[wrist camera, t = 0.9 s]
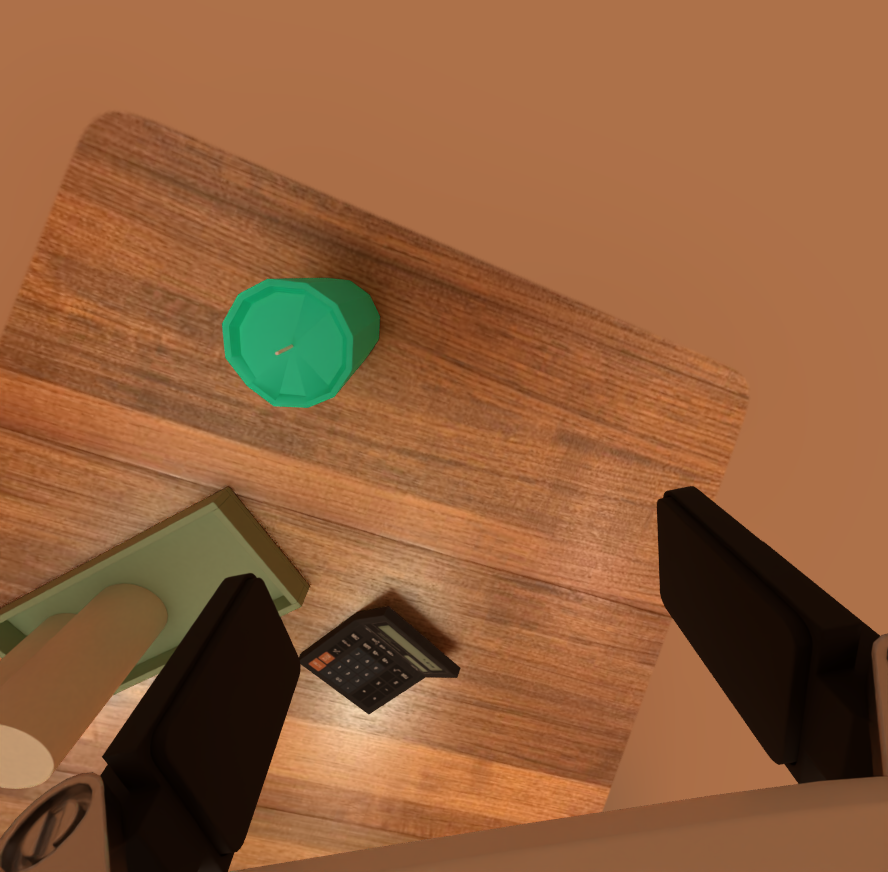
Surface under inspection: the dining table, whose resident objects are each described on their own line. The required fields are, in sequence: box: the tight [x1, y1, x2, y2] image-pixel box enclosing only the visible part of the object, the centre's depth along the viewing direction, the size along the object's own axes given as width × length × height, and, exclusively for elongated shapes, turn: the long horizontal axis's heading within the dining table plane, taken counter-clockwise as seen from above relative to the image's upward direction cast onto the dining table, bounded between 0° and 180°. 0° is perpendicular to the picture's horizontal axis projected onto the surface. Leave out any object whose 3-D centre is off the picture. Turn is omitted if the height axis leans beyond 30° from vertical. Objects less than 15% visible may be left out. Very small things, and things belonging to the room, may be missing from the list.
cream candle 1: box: [0, 613, 77, 687], centre depth 32 cm, size 6×6×12 cm
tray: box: [0, 487, 310, 695], centre depth 36 cm, size 11×25×2 cm, turn 118°
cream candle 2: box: [0, 584, 168, 789], centre depth 31 cm, size 6×6×12 cm
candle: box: [222, 278, 380, 408], centre depth 24 cm, size 6×6×12 cm
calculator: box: [299, 606, 460, 714], centre depth 38 cm, size 9×12×3 cm
